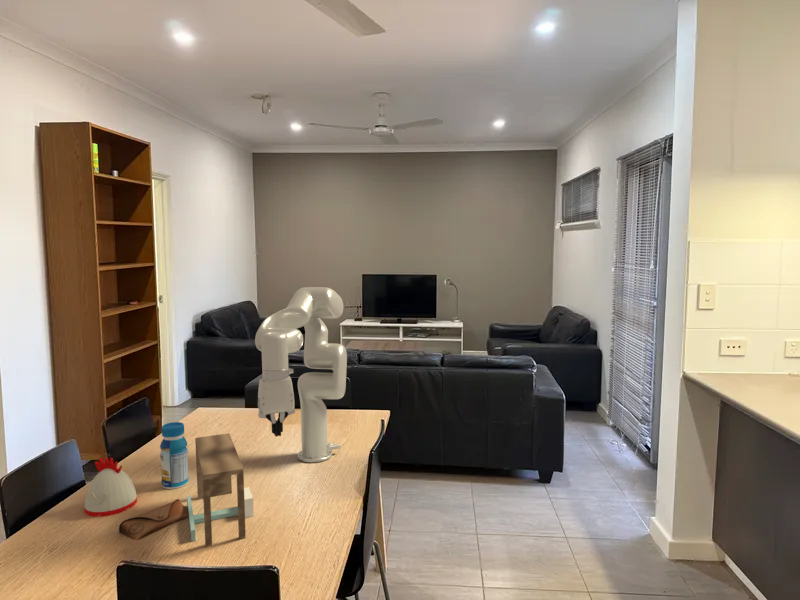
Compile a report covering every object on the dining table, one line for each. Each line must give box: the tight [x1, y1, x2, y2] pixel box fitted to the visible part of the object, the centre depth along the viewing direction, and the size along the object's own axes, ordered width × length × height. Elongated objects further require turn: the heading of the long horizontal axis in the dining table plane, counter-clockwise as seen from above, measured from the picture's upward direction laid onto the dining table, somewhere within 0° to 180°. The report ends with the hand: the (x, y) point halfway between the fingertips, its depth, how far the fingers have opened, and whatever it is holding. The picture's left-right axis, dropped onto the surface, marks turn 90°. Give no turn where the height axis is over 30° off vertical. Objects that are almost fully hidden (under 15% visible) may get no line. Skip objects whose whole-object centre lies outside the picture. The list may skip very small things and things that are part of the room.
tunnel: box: [194, 432, 247, 548], centre depth 152 cm, size 10×30×19 cm, turn 24°
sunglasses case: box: [118, 498, 189, 541], centre depth 149 cm, size 18×7×7 cm
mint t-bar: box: [186, 486, 254, 542], centre depth 152 cm, size 17×22×5 cm
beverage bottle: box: [159, 421, 190, 490], centre depth 173 cm, size 8×8×20 cm
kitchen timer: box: [83, 457, 138, 518], centre depth 159 cm, size 14×14×15 cm
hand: (277, 434), depth 158 cm, fingers closed
